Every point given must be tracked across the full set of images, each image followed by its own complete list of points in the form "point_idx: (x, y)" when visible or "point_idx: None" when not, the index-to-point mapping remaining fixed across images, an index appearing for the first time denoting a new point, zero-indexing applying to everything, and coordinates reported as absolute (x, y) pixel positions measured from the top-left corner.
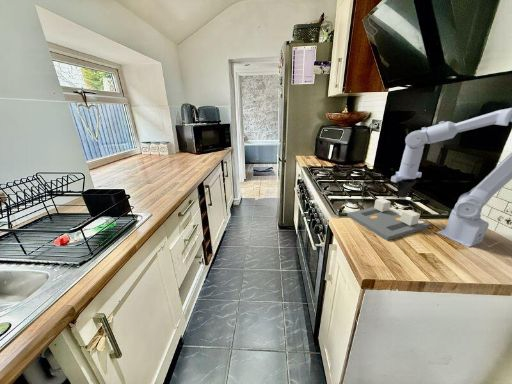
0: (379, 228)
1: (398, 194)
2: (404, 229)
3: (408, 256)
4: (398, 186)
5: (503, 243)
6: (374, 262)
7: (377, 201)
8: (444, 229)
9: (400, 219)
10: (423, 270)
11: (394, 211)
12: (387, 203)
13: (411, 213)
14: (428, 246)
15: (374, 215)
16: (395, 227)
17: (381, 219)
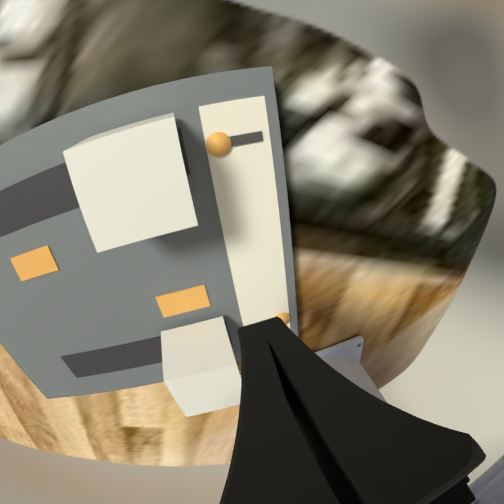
0: (30, 358)
1: (241, 344)
2: (138, 377)
3: (87, 429)
4: (243, 451)
5: (386, 381)
6: (5, 422)
7: (74, 176)
8: (326, 351)
9: (161, 339)
10: (99, 451)
11: (231, 204)
12: (152, 232)
13: (204, 398)
14: (176, 412)
15: (46, 241)
16: (103, 365)
17: (67, 293)
